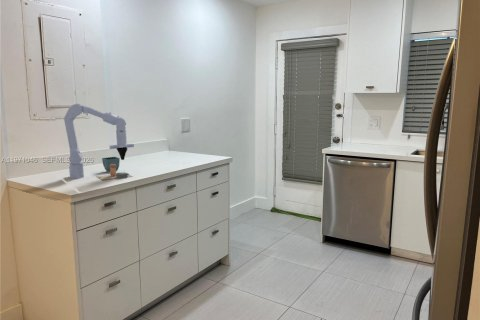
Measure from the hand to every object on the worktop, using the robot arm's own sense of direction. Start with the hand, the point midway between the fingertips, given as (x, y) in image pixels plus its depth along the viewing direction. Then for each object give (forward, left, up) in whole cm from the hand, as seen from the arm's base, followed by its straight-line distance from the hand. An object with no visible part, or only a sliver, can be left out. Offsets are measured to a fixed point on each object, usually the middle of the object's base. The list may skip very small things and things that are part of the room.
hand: (122, 159), depth 223 cm
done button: (+9, -4, -9) cm, 13 cm away
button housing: (+8, -4, -9) cm, 13 cm away
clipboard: (+4, -7, -10) cm, 13 cm away
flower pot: (-16, -2, -10) cm, 19 cm away
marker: (+2, -7, -9) cm, 12 cm away
